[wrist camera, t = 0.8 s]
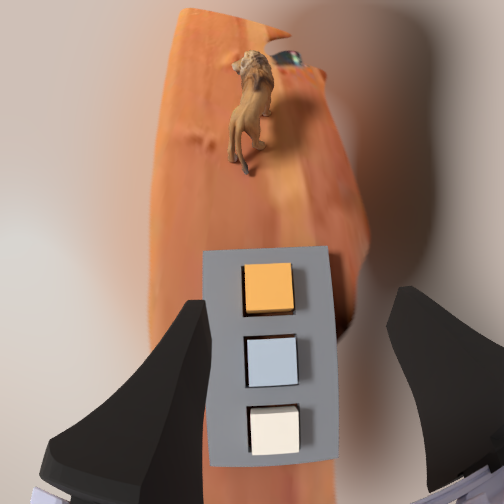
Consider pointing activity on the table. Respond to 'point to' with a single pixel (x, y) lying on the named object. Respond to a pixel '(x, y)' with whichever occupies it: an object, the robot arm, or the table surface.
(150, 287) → the table surface
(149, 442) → the robot arm
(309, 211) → the table surface
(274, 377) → the slate-blue button
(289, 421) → the cream button
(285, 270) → the orange button
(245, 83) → the lion figurine
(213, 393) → the button board
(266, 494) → the table surface
